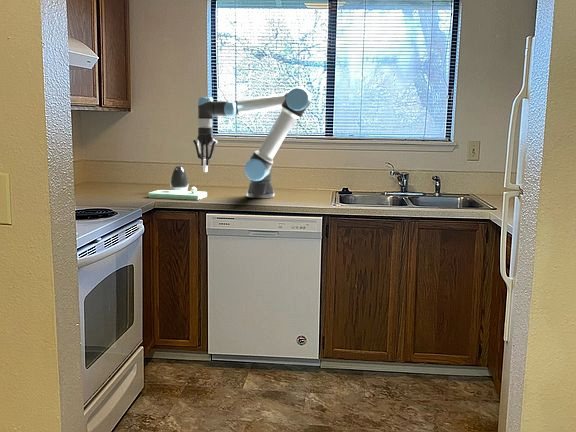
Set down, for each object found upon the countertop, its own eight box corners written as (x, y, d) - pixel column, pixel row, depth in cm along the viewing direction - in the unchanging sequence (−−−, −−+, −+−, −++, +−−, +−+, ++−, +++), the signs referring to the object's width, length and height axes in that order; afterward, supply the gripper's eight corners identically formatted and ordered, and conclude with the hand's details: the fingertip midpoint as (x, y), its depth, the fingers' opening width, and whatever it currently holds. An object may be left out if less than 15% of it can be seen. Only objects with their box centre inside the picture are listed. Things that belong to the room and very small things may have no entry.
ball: (197, 192, 319) (197, 186, 319) (195, 193, 316) (195, 187, 315) (191, 192, 320) (191, 186, 319) (189, 193, 317) (189, 187, 316)
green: (206, 196, 324) (206, 191, 324) (197, 200, 311) (197, 195, 310) (159, 194, 330) (159, 189, 329) (148, 197, 316) (148, 193, 316)
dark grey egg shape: (167, 193, 334) (166, 166, 331) (175, 190, 344) (174, 164, 341) (184, 194, 331) (183, 167, 329) (191, 191, 341) (191, 165, 339)
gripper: (219, 127, 313) (219, 171, 317) (196, 126, 315) (196, 170, 319) (214, 127, 305) (214, 173, 309) (191, 126, 308) (191, 171, 312)
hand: (205, 171), depth 314 cm, fingers closed
